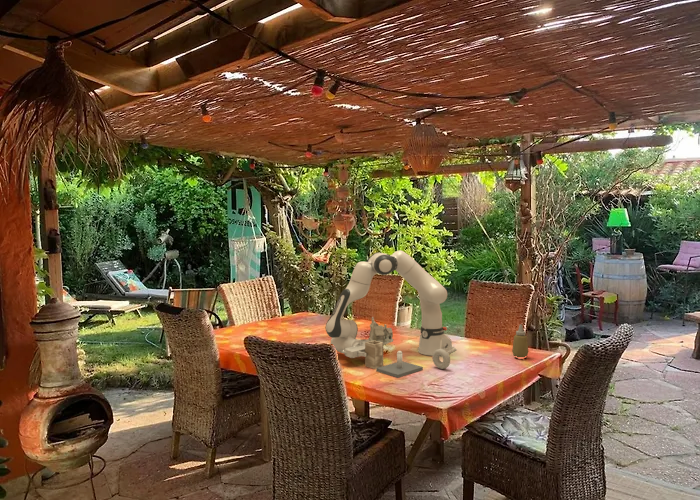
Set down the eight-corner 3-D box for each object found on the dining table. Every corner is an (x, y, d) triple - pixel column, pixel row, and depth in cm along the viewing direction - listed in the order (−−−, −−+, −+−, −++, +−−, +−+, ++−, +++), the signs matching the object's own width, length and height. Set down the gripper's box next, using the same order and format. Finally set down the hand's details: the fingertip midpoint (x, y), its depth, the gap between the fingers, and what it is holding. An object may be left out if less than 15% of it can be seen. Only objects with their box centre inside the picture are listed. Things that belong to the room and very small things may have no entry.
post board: (401, 363, 261) (401, 344, 260) (422, 369, 250) (422, 350, 250) (376, 371, 249) (376, 351, 248) (397, 377, 238) (397, 357, 238)
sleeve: (374, 363, 261) (374, 340, 260) (383, 366, 256) (383, 342, 256) (365, 366, 257) (365, 342, 256) (374, 368, 252) (374, 344, 251)
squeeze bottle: (527, 356, 272) (528, 323, 271) (528, 361, 265) (529, 326, 263) (511, 355, 275) (512, 322, 273) (512, 359, 267) (513, 325, 266)
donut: (430, 367, 255) (431, 347, 254) (435, 365, 257) (435, 346, 256) (447, 371, 247) (447, 351, 246) (451, 370, 250) (451, 350, 249)
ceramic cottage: (369, 345, 297) (370, 319, 297) (366, 339, 313) (368, 315, 313) (395, 346, 298) (397, 320, 298) (391, 340, 314) (393, 316, 314)
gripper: (339, 345, 260) (358, 350, 250) (368, 338, 273) (387, 343, 263) (339, 357, 260) (358, 363, 250) (368, 350, 274) (387, 355, 264)
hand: (373, 353), depth 257 cm, fingers open, 8 cm apart
